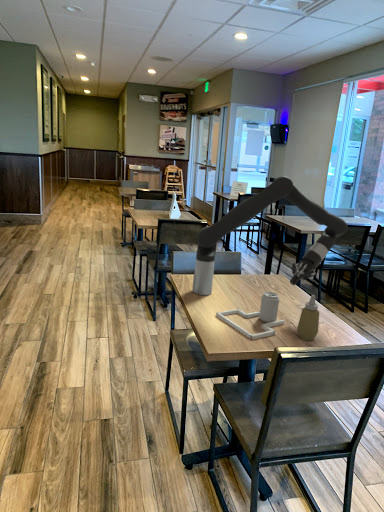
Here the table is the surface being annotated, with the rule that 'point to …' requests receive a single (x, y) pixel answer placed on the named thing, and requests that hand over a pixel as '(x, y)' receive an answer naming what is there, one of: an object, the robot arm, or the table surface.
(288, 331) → the table surface
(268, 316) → the can
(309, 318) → the squeeze bottle
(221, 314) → the t outline
